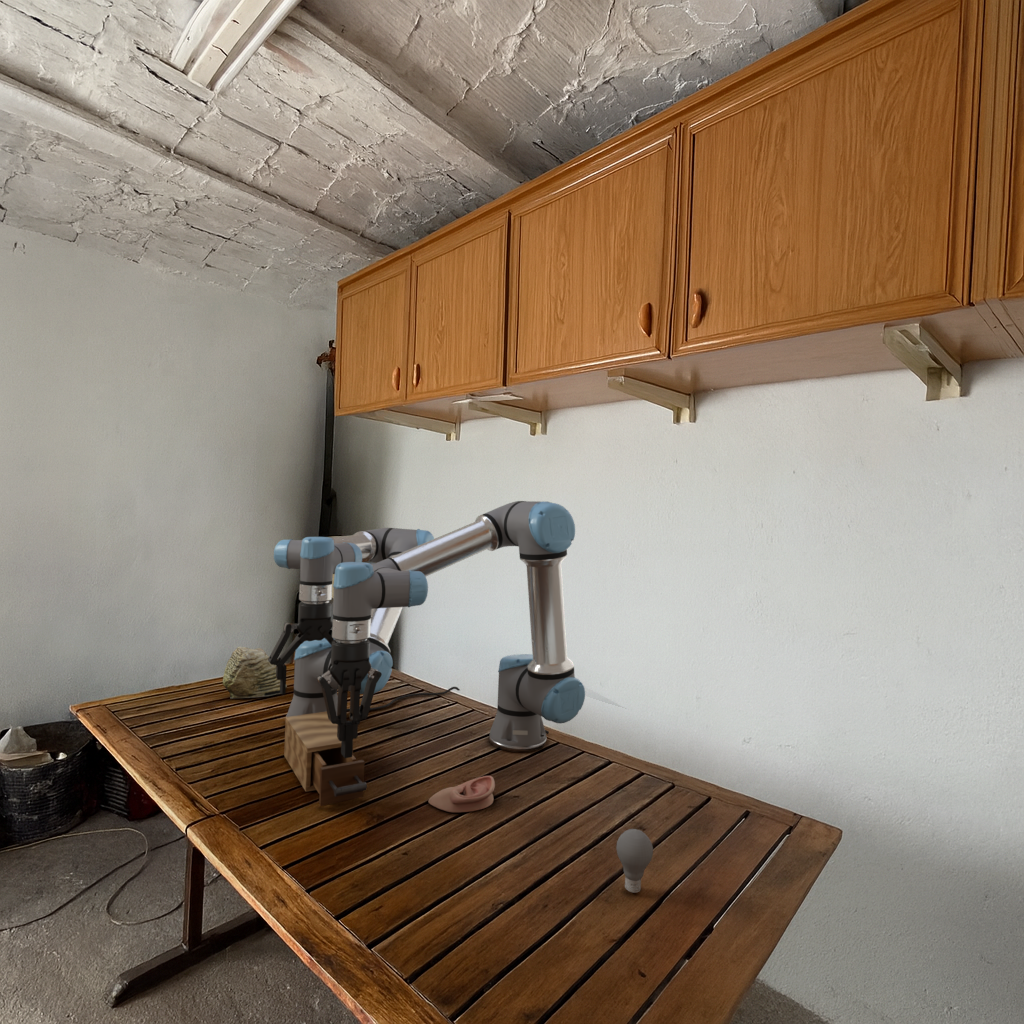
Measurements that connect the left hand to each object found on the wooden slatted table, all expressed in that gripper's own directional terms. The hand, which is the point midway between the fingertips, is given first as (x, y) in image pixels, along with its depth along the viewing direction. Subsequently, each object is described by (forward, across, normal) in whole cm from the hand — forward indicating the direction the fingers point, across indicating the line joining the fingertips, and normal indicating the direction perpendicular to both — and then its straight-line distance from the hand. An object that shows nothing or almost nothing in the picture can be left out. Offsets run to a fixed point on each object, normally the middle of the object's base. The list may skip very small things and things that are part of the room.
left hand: (312, 689), depth 152 cm
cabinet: (+17, 0, -6) cm, 18 cm away
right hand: (+5, 0, -28) cm, 29 cm away
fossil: (+17, -3, +56) cm, 58 cm away
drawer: (+16, 0, -19) cm, 25 cm away
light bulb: (+17, +34, -76) cm, 85 cm away
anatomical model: (+17, +23, -35) cm, 45 cm away
